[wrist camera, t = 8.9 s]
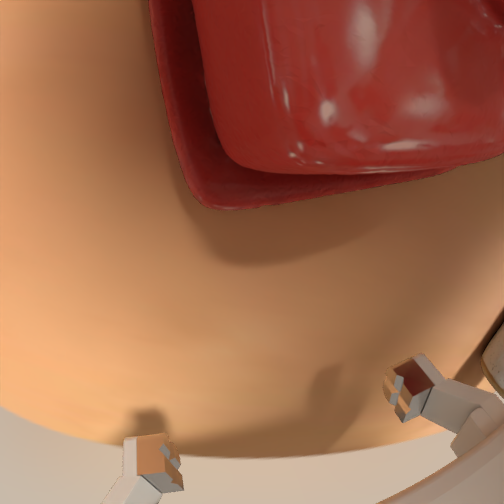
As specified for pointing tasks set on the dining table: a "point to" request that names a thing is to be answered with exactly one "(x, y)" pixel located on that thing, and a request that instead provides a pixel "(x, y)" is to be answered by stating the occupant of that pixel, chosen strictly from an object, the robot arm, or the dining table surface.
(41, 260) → the dining table surface
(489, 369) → the ceramic mug
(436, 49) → the butter dish
